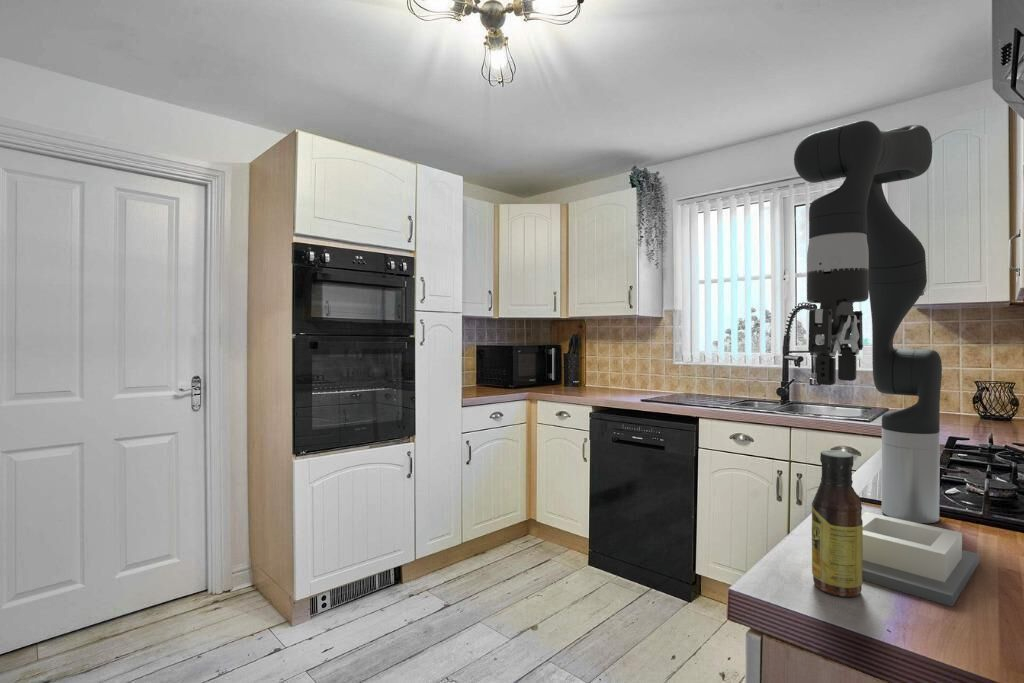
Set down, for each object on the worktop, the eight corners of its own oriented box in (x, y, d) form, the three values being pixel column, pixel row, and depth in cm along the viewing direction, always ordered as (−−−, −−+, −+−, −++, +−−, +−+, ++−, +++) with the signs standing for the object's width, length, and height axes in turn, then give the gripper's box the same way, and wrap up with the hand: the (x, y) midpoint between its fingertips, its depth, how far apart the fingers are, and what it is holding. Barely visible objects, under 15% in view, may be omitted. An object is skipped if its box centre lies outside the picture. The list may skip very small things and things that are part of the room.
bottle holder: (863, 534, 97) (863, 504, 97) (979, 563, 85) (979, 528, 85) (821, 567, 84) (821, 532, 84) (952, 606, 72) (952, 566, 71)
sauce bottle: (816, 575, 81) (816, 445, 81) (865, 587, 77) (865, 450, 77) (807, 591, 76) (807, 453, 76) (859, 605, 72) (859, 459, 72)
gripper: (826, 274, 83) (826, 378, 84) (788, 267, 74) (788, 384, 74) (883, 270, 78) (882, 381, 78) (849, 262, 68) (849, 388, 69)
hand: (836, 382), depth 76 cm, fingers open, 8 cm apart
